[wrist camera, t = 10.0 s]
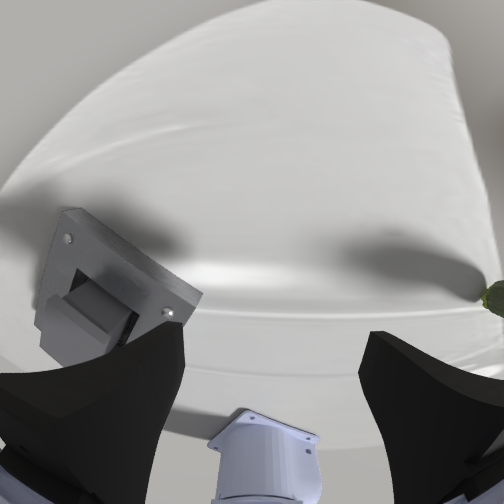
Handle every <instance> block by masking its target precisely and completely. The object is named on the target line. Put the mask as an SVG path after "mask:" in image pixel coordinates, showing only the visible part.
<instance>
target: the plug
mask: <svg viewBox="0 0 504 504" xmlns="http://www.w3.org/2000/svg"><path fill="white" fill-rule="evenodd" d="M134 313H135V311H133V310H132V309H131V308H129V307H128V306H126V305H125V304H124V303H122V302H121V301H119V300H118V299H117V298H115V297H114V296H113V295H111V294H110V293H109V292H107V291H106V290H105V289H103V288H102V287H101V286H99V285H98V284H97V283H96V282H94V281H93V280H92V279H90V280H89V281H87V282H85V283H84V284H82V285H81V286H79V287H78V288H76V289H74V290H73V291H71V292H70V293H68V294H67V295H65V296H64V297H62V298H61V297H60V296H59V295H57V294H55V295H53V296H52V297H50V298H48V299H47V303H46V308H45V313H44V319H43V325H42V332H41V339H40V347H41V348H42V349H43V350H44V351H45V352H46V353H47V354H49V355H50V356H51V357H52V358H53V359H54V360H56V361H57V362H58V363H59V364H60V365H62V366H63V367H68V366H72V365H75V364H79V363H83V362H86V361H89V360H92V359H94V358H97V357H100V356H102V355H105V354H107V353H109V352H110V351H111V350H112V349H113V347H114V346H115V345H116V344H117V343H118V341H119V340H120V339H121V338H122V337H123V335H124V334H125V332H126V330H127V328H128V326H129V324H130V321H131V319H132V317H133V315H134Z"/></svg>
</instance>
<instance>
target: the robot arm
mask: <svg viewBox="0 0 504 504" xmlns="http://www.w3.org/2000/svg"><path fill="white" fill-rule="evenodd" d="M184 369H185V356H184V340H183V323H182V322H173V321H166V322H164V323H162V324H160V325H158V326H157V327H155V328H153V329H152V330H150V331H148V332H147V333H145V334H143V335H141V336H140V337H138V338H136V339H135V340H133V341H131V342H129V343H127V344H125V345H123V346H121V347H119V348H117V349H115V350H113V351H111V352H109V353H107V354H105V355H102V356H100V357H97V358H94V359H92V360H89V361H86V362H83V363H79V364H75V365H72V366H68V367H64V368H60V369H54V370H48V371H41V372H31V373H0V437H1V439H2V440H3V441H4V443H5V444H6V446H5V447H4V448H3V450H1V449H0V504H145V499H146V494H147V488H148V483H149V477H150V473H151V468H152V464H153V459H154V455H155V452H156V448H157V444H158V440H159V437H160V434H161V431H162V429H163V426H164V424H165V421H166V419H167V417H168V414H169V412H170V409H171V407H172V405H173V402H174V400H175V397H176V395H177V393H178V390H179V388H180V384H181V381H182V377H183V373H184ZM358 374H359V379H360V383H361V386H362V390H363V393H364V395H365V398H366V400H367V402H368V405H369V407H370V409H371V412H372V414H373V416H374V419H375V421H376V423H377V426H378V428H379V430H380V433H381V435H382V438H383V441H384V445H385V448H386V452H387V456H388V461H389V466H390V471H391V477H392V484H393V493H394V504H504V380H499V379H493V378H488V377H484V376H480V375H476V374H473V373H470V372H467V371H464V370H461V369H458V368H456V367H453V366H451V365H448V364H446V363H444V362H442V361H440V360H438V359H436V358H434V357H432V356H430V355H428V354H426V353H424V352H422V351H421V350H419V349H417V348H415V347H414V346H412V345H410V344H408V343H406V342H405V341H403V340H401V339H399V338H397V337H396V336H394V335H392V334H390V333H387V332H385V331H370V335H369V338H368V342H367V345H366V349H365V352H364V355H363V358H362V362H361V365H360V368H359V371H358ZM251 416H253V417H251ZM319 441H320V437H319V436H316V435H313V434H310V433H307V432H304V431H301V430H298V429H295V428H292V427H290V426H287V425H284V424H281V423H279V422H276V421H274V420H271V419H269V418H266V417H264V416H261V415H259V414H257V413H254V412H252V411H249V410H246V411H244V412H242V413H241V414H240V415H239V416H238V417H237V418H236V419H235V420H234V421H233V422H232V423H230V424H229V425H228V426H227V427H226V428H225V429H224V430H223V431H221V432H220V433H219V434H218V435H217V436H216V437H214V438H213V439H212V440H211V441H210V442H209V443H208V444H207V447H209V448H210V449H213V450H215V451H218V452H220V453H221V459H220V466H219V474H218V481H217V489H216V497H215V499H212V500H211V504H317V502H318V501H319V498H320V496H321V492H322V480H321V474H320V469H319V463H318V458H317V453H316V447H315V444H316V443H318V442H319Z"/></svg>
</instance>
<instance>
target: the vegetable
mask: <svg viewBox="0 0 504 504" xmlns="http://www.w3.org/2000/svg"><path fill="white" fill-rule="evenodd" d="M481 300H482V301H483V304H482V305H483V306H484V307H485V308H486V309H489V310H490V311H491V312H492V313H494V314H496V315H498V316H501V317H503V318H504V280H502V281H497V282H495V283H494V284H493V285H492V286H490V287H489V289H487V292H486V294H485V295H483V296H482V298H481Z"/></svg>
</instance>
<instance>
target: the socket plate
mask: <svg viewBox="0 0 504 504" xmlns="http://www.w3.org/2000/svg"><path fill="white" fill-rule="evenodd" d="M87 276H88V277H89V278H90V279H92V280H93V281H94V282H96V283H97V284H98V285H99V286H101V287H102V288H103V289H105V290H106V291H107V292H109V293H110V294H111V295H113V296H114V297H115V298H117V299H118V300H119V301H121V302H122V303H124V304H125V305H126V306H128V307H129V308H131V309H132V310H133V311H135V312H136V313H138V314H139V315H140V316H139V318H138V320H137V322H136V324H135V326H134V328H133V330H132V332H131V334H130V336H129V338H128V340H127V342H126V344H127V343H129V342H131V341H133V340H135V339H136V338H138V337H140V336H141V335H143V334H145V333H147V332H148V331H150V330H152V329H153V328H155V327H157V326H158V325H160V324H162V323H164V322H166V321H173V322H182V323H183V327H184V325H185V324H186V322H187V321H188V319H189V318H190V316H191V315H192V313H193V312H194V310H195V309H196V307H197V305H198V303H199V301H200V299H201V297H202V295H203V293H202V292H200V291H199V290H197V289H195V288H194V287H192V286H191V285H189V284H188V283H186V282H185V281H183V280H182V279H180V278H179V277H177V276H176V275H174V274H173V273H171V272H170V271H168V270H167V269H165V268H164V267H162V266H161V265H159V264H158V263H156V262H155V261H153V260H152V259H150V258H149V257H148V256H146V255H145V254H143V253H142V252H140V251H139V250H138V249H136V248H135V247H133V246H132V245H130V244H129V243H128V242H126V241H125V240H124V239H122V238H121V237H119V236H118V235H117V234H115V233H114V232H113V231H111V230H110V229H108V228H107V227H106V226H104V225H103V224H102V223H100V222H99V221H98V220H96V219H95V218H94V217H93V216H91V215H90V214H89V213H87V212H86V211H85V210H83V209H82V208H78V209H72V210H67V211H63V212H62V215H61V218H60V220H59V223H58V226H57V229H56V232H55V235H54V239H53V242H52V245H51V248H50V252H49V255H48V259H47V263H46V267H45V271H44V275H43V279H42V283H41V288H40V293H39V298H38V303H37V308H36V314H35V321H34V325H35V326H36V327H37V328H38V329H39V330H40V331H41V332H42V325H43V319H44V313H45V308H46V303H47V299H48V298H50V297H52V296H53V295H55V294H57V295H59V296H60V297H61V298H62V297H64V296H65V295H67V294H68V293H70V292H71V291H73V290H74V289H76V288H78V287H79V286H81V285H82V284H84V283H85V281H86V278H87ZM119 347H121V345H119V344H118V343H117V344H116V345H115V346H114V347H113V349H112V350H111V351H113V350H115V349H117V348H119ZM111 351H110V352H111Z"/></svg>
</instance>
